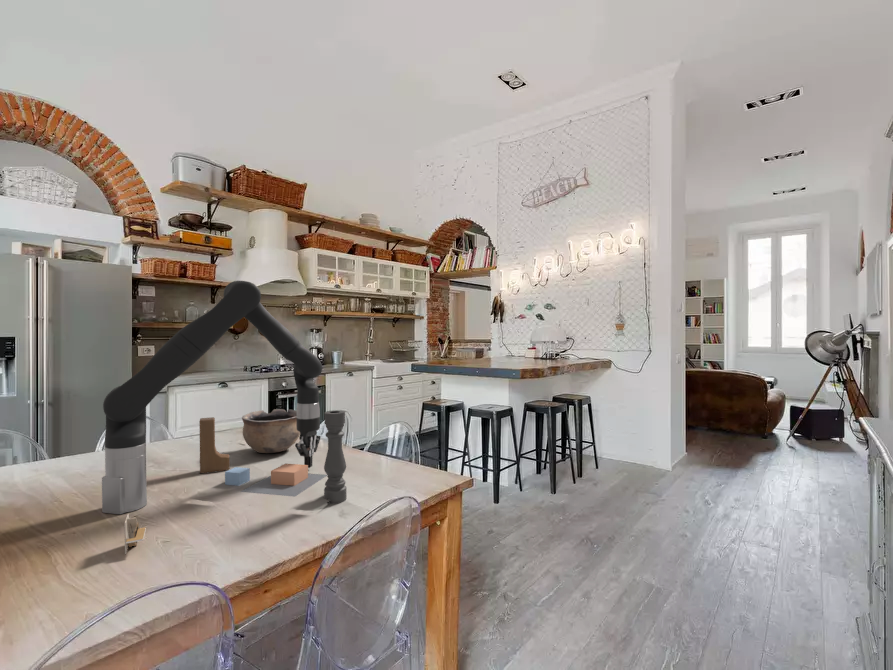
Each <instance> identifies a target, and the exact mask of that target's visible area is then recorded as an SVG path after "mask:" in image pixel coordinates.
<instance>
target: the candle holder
mask: <svg viewBox="0 0 893 670" xmlns="http://www.w3.org/2000/svg"><path fill="white" fill-rule="evenodd" d="M345 423H346V411H344V410H339V409H337V410H328V411H325V412H324V425H325V427H326V430H327V432H326V433H325V437H327V447H328V448H327V453H326V457H325V460H324V466H323V469H324V472H325V475H327V476H326V477H327V480H326V481H325V483H324V485H325V486H324V488H323V497H324V499H326V500H328V501H327V502H326V503H327V504H334V505H335V504H340V503H344V502H346V500H347V493H348V492H347V486H346V483H347V482H346V480H345V479H344V473H345V472H346V469H347V463H346V458H345V453H344V450H343V438H344V436H345V432H344V431H343V429H344V427H345Z"/></svg>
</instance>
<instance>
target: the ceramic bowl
mask: <svg viewBox="0 0 893 670" xmlns="http://www.w3.org/2000/svg"><path fill="white" fill-rule="evenodd" d="M296 411H297V410H296V409H295V410H294V409H290V408H289V409H287V411H286V410H285V409H283V408H279V409H275V408H274V409H273V410H272V411H271V412H270V413H267V412H265V411H264V410H257V411H256V410H255V411H251V412H249V413H247V414H244V415H242V417H241V419H242V422H243V427H242V437H243V439H244V441H245V442H246V444H247V445H248V447H250V448H251V449H252V450H253V451H255V452H257V453H259V454H273V453H281V452H284V451H287V450H288V449H290V448H291V447H292V446H293V445H294V444H296V443H297V442H296V441H298V438H299V437H300V432H299V431H297V415H296Z"/></svg>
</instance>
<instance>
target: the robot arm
mask: <svg viewBox="0 0 893 670" xmlns="http://www.w3.org/2000/svg"><path fill="white" fill-rule="evenodd" d="M261 300H262V293H261V290H260V288H259V286H257V285H256V284H255V283H254V282H253V283H252V282H250V281H246V280H234V281H231V282H229V283H228V284H227V285H226V286H225V287H224V291H223V298H222V299H220V300H219V302H218V303H217V304H216V305H214V307H212V309H210V310H208V311H207V312H206V313H204V314H203V315H201V316H200V317H197V318H195V319H194V320H193V321H191V322H189V323H188V324H186V325H185V326H183V327H182V328H180V330H178V331H177V332H176V333H175V334H174V335H173V336H172V337H170V338H169V339H168V340H167V341H166V342H165V343H164V344H163V345H162V346H161V347H160V348H159V349H158V351H156V353H155V354H154V355H153V356H152V357H151V358H150V360H149V361H148V362H147V363H146V365H144V366H143V368H141V369H140V370H139V371H138V372H137V373H136V374H134V375H133V376H132V377H131V378H129V379H128V380H127V381H126V382H124V383H123V384H122V385H118V386H117V387H114V388H113V389H112V390H111V391H110V392H108V393H107V395H106V396H105V398H104V400H103V402H102V403H103V404H102V409H103V412H104V415H105V435H104V463H105V464H104V466H105V467H104V468H105V469H104V470H105V471H104V473H105V475H103V476H102V477H101V511H102V513H106V514H115V515H123V514H125V513H129V512H134V511H137V510H140V509H142V508H144V507H146V506H147V503H148V501H147V500H148V499H147V496H148V495H147V493H148V490H147V489H148V488H147V486H148V485H147V407H148V405H149V404H150V403H151V402H152V401H153V399H155V397H156V396H157V395H158V394H159V393H160V392H161V391H162V390H163V389H164V388H165V387H167V386H168V385H169V384H170V383H171V382H173V381H175V380H176V378H178V377H180V376H181V375H182V374H183V373H184V372H186V371H187V370H188V369H190V367H192V366H193V365H194V364H195V363H196V362H198V361H199V359H200V358H202V357H203V356H204V355H205V354H206V353H207V352H208V351H209V350H210V349H211V348H212V347H213V346H214V345H216V343H217V342H218V341H219V340H220V339H221V338H222V337H223V336H224V335H225V334H226V333H227V331H228V330H229V329H230V328H232V327H233V326H234V325H235V324H238V322H239V321H241V320H242V319H243V318H245V319H246V320H247V321H249V323H251V324H252V325H253V327H255V328H256V329H257V330H258V331H259V333H261V335H262V336H263V337H264V338H265V339H266V340H267V341H268V342H269V344H270V345H272V347H273V348H274V349H275V350H276V351H277V352H278V353H279V354H280V356H282V357H283V358H284V359H285V360H287V361H289V362H292V363H293V378H294V382H295V387H296V391H297V393H296V399H297V400H296V402H297V403H296V410H295V411H296V415H297V431H299V432H300V435H299V437H298V438H299V442H295V443H294V444H295V445H294V446H295V449H296V450H297V453H298V454H299V455H300V457H303V458H304V460H303V461H304V464H303V465H308V469H310V468H311V467H313V456H314V455H315V453H316V452H317V450H318V448H319V444H320V440H321V436H320V435H318V430H320V429H321V425H320V423H321V414H320V413H321V412H320V411H321V410H320V392H319V386H317V385H316V384H315V381H314V380H315V378H317V377H319V376H321V374H322V372H323V364H322V362H321V360H320V358H318V356H316V355H315V354H314V353H313V352H312V351H310V350H309V349H308V348H306V347H305V346H304V345H303V344H302V343H301V342H300V341H299V340H298V338H297V337H296V336H295V335H294V334H293V333H292V332H291V331H290V330H289V329H288V328H287V327H286V326H285V325H284V324H283V323H281V322H280V321H279V320H278V319H277V318H275V317H274V316H273V315H272V314H271V313H270V312H269V311H268V310H267V309H266V307H265V306H264V305H263V304H262V303H261Z"/></svg>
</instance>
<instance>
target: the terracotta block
mask: <svg viewBox="0 0 893 670" xmlns="http://www.w3.org/2000/svg"><path fill="white" fill-rule="evenodd" d="M308 473H309V468H308V465H304V464H298V463H284V464H282V465H279V466H278V467H276V468H274V469H272V470H270V476H271V484H278V485H290V486H295V485H297V484H298V483H300V482H302V481H303V480H305V479H306V478H308Z"/></svg>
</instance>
